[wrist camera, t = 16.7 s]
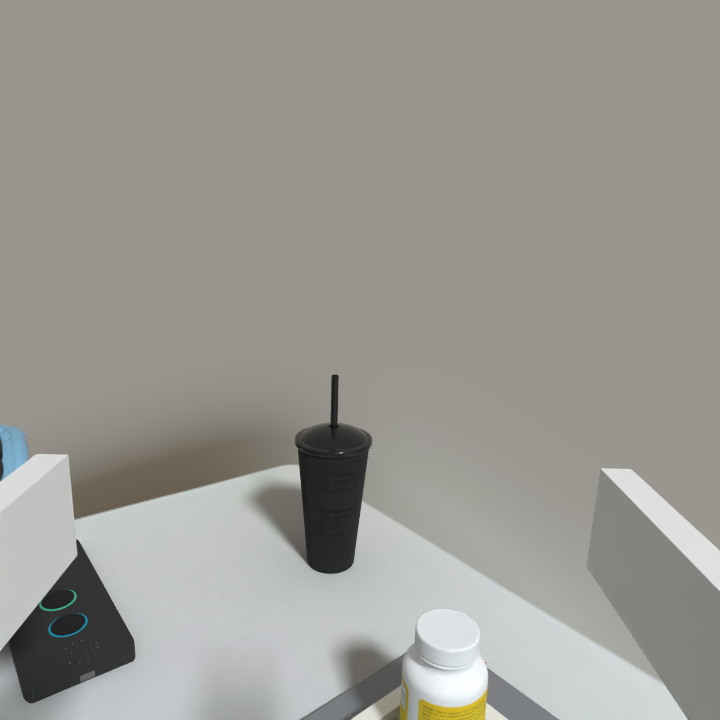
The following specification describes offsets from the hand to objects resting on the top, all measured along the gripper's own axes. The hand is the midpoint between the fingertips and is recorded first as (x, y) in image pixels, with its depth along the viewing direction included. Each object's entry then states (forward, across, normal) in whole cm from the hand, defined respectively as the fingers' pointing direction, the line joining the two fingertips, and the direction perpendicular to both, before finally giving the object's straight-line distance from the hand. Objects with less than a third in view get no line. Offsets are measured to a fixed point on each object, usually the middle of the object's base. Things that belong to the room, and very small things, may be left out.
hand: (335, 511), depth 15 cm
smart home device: (+33, -25, -29) cm, 50 cm away
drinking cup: (+41, -1, -28) cm, 50 cm away
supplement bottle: (+18, +7, -28) cm, 34 cm away
